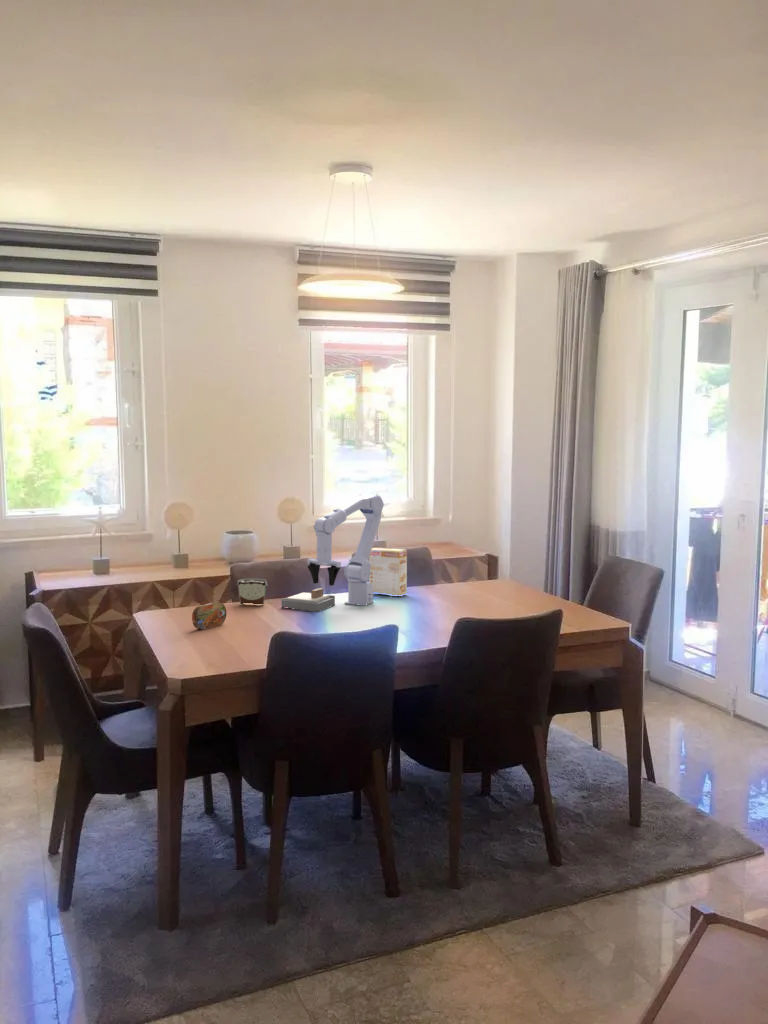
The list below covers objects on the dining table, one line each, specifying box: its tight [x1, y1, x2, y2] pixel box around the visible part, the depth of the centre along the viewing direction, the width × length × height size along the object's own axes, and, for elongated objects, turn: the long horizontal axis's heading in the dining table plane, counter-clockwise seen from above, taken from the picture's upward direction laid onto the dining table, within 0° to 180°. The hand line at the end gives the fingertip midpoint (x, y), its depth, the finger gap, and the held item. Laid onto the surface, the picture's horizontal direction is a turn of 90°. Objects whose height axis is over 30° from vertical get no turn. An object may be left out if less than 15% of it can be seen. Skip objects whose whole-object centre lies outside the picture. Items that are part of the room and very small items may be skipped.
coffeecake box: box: [368, 547, 408, 595], centre depth 366 cm, size 15×7×20 cm, turn 59°
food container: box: [236, 578, 269, 605], centre depth 343 cm, size 12×6×10 cm, turn 84°
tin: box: [191, 601, 227, 631], centre depth 302 cm, size 15×3×8 cm, turn 148°
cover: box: [286, 587, 330, 601], centre depth 339 cm, size 12×13×4 cm
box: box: [281, 592, 336, 612], centre depth 339 cm, size 16×14×4 cm
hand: (323, 584), depth 334 cm, fingers open, 7 cm apart
